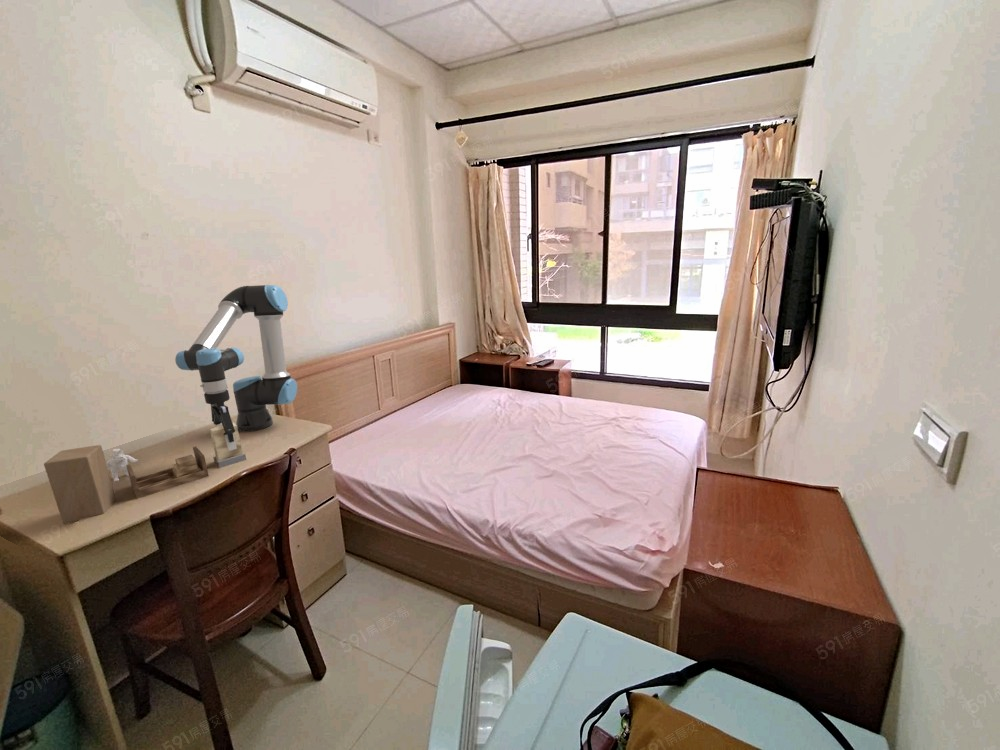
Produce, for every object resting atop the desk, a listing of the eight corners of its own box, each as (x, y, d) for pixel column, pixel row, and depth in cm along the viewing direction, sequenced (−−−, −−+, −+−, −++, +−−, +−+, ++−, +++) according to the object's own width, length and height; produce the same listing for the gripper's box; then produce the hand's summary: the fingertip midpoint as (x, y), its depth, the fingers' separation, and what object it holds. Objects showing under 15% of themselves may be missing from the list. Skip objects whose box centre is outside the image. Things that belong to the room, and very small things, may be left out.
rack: (200, 468, 162) (195, 446, 160) (209, 478, 154) (204, 455, 152) (132, 489, 149) (126, 465, 146) (137, 501, 140) (131, 476, 138)
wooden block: (78, 508, 137) (60, 450, 132) (118, 500, 141) (101, 444, 136) (62, 525, 129) (42, 463, 123) (105, 516, 132) (87, 456, 127)
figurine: (113, 487, 150) (104, 456, 147) (104, 484, 153) (95, 452, 150) (144, 476, 158) (136, 445, 155) (134, 472, 161) (126, 442, 158)
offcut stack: (196, 469, 160) (193, 452, 158) (202, 475, 154) (198, 459, 153) (173, 475, 155) (169, 459, 153) (178, 483, 149) (174, 466, 148)
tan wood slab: (240, 456, 170) (233, 422, 166) (243, 459, 167) (237, 425, 164) (217, 463, 164) (209, 428, 161) (220, 466, 162) (212, 431, 158)
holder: (241, 455, 173) (239, 447, 172) (249, 462, 166) (248, 454, 165) (212, 463, 166) (210, 456, 165) (219, 471, 159) (218, 463, 158)
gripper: (195, 387, 164) (207, 439, 170) (213, 400, 147) (225, 457, 153) (218, 383, 170) (228, 433, 175) (237, 394, 153) (248, 450, 158)
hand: (227, 444), depth 164 cm, fingers open, 13 cm apart
